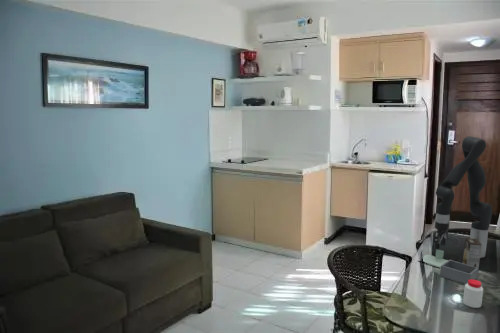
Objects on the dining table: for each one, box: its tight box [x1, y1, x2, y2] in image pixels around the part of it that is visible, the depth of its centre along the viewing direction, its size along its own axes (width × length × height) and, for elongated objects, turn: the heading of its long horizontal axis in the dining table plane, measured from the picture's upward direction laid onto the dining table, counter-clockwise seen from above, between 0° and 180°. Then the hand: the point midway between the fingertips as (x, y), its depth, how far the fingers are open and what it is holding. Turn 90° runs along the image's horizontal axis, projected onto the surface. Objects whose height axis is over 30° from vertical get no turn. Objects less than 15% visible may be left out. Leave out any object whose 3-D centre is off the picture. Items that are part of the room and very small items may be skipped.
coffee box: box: [462, 237, 482, 270], centre depth 237 cm, size 9×6×16 cm
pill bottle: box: [462, 279, 484, 309], centre depth 198 cm, size 8×8×11 cm
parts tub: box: [439, 259, 479, 285], centre depth 226 cm, size 12×15×6 cm
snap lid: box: [422, 249, 448, 269], centre depth 244 cm, size 12×15×7 cm
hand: (439, 247), depth 247 cm, fingers open, 8 cm apart
